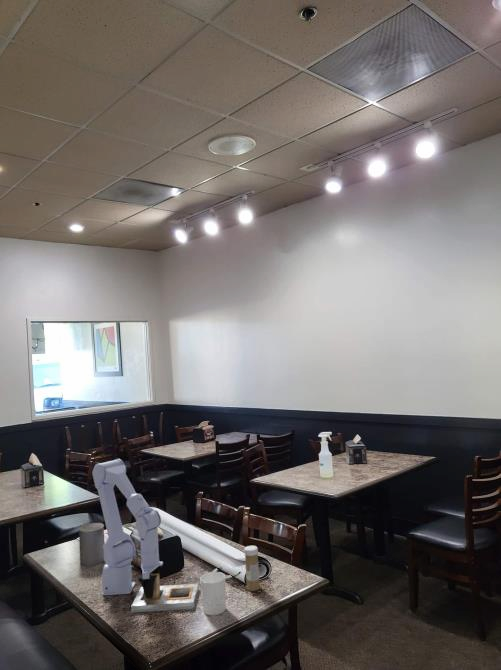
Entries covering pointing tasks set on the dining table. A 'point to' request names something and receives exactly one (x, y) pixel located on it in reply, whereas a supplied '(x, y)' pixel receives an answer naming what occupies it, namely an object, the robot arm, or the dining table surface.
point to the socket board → (167, 599)
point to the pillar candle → (91, 544)
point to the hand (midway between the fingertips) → (151, 592)
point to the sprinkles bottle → (252, 567)
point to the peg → (155, 589)
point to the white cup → (213, 592)
